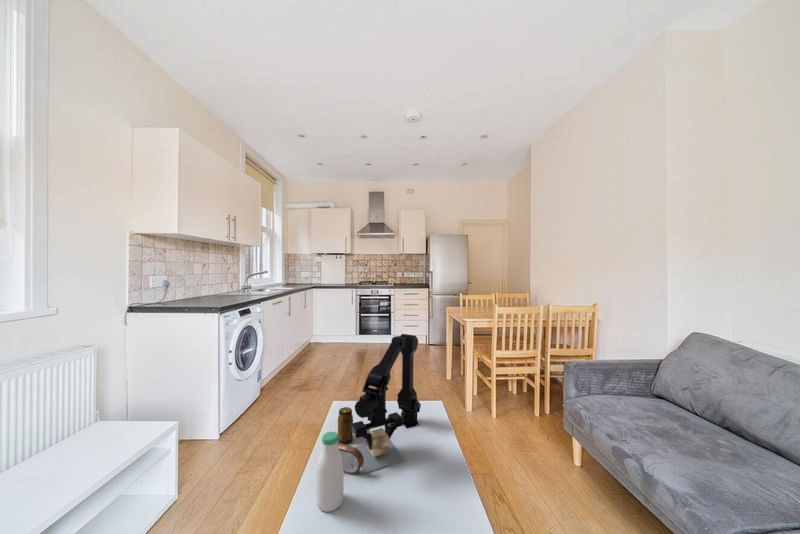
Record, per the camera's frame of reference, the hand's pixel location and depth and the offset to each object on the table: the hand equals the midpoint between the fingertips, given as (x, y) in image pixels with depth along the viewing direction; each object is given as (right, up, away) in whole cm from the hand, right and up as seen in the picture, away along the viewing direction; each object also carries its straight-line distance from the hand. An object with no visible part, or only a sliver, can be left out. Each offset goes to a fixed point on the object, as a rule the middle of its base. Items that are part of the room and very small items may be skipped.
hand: (377, 447), depth 110 cm
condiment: (-13, -3, +9) cm, 16 cm away
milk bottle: (-13, -3, -22) cm, 25 cm away
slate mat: (0, -3, 0) cm, 3 cm away
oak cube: (0, -1, 0) cm, 1 cm away
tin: (-12, -3, -8) cm, 14 cm away
